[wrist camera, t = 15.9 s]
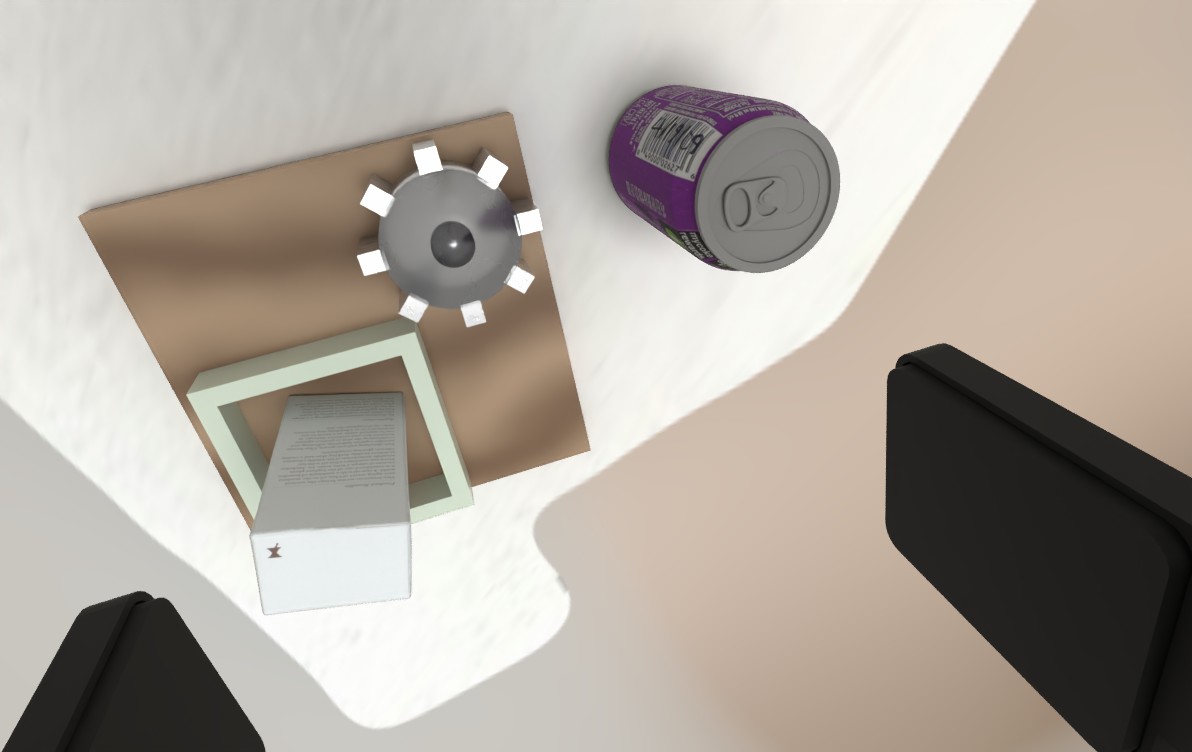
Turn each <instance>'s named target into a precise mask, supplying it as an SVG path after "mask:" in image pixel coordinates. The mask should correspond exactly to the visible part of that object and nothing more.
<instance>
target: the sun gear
mask: <svg viewBox="0 0 1192 752" xmlns="http://www.w3.org/2000/svg"><path fill="white" fill-rule="evenodd" d="M412 146H413V152H414V156H415V159H416V162H417V166H415V167H413V168H411V169H410V170H408V171H407V172H405V173H404V174H403V175H402V176H400V177H399V178H398V179H397V180H396V181H395V183H394V184H391V183H390V182H388V181H386V180H384V179H383V178H381V177H379V176H377V175H376V174H374V173H372V175H371V177H370V179H369V181H368V183H367V185H366V186H365V188H364V190H363V193H362V198H361V202H360V204H361V205H363V206H365V207H367V208H369V209H370V210H372V211H374V212H376V213H378V214H380V223H379V235H375V236H371V237H367V238H363V239H360V242H359V247H358V252H357V257H358V260H359V263H360V265H361V268H362V271H363V274H364V276H366V275H370V274H374V273H378V272H382V271H386V270H387V272H388V273H389V275H390V277H391V278H392V279H393V281H394V282H395V283H396V284H397V285H398V286H399V287H400V288H401V290H400V292H399V314H401V315H403V316H405V317H407V318H409V319H411V320H413V321H415V322H417V323H418V322H419V320H420V318H421V316H422V315H423V313H424V311H425V310H426V308H427V306H428V305H430V306H433V307H438V308H444V309H459V308H461V310H462V313H463V317H464V320H465V323H466V326H467V327H470V326H474V325H477V324H481V323H485V322H486V319H485V316H484V312H483V309H482V305H481V303H482V302H484V301H486V300H488V299H489V298H491V297H492V296H494V295H495V294H497V293H498V292H499V291H500V290H501V289H502V288H503V287H504V286H505V285H506V284H507V285H509V286H511V287H513V288H515V289H517V290H518V291H520V292H522V293H524V294H525V292H526V290H527V289H528V287H529V286H530V284H531V282H532V281H533V279H534V278H535V276H534V274H533V273H532V271H531V269H530V268H529V266H528V264H527V262H526V261H525V260H524V259H522V258H521V257H520V255H521V250H522V235H524V234H528V233H532V232H535V231H539V230H543V228H542V224H541V220H540V215H539V211H538V209H537V207H536V206H535V205H534V204H533V203H532V201H531V200H530V199H529V198H528V197H525V198H521V199H517V200H513V201H509V200H508V198H507V197H506V196H505V194H504V193H503V191H502V190H501V188H500V187H499V186H498V184H499V183H500V181H501V179H502V177H503V176H504V174H505V172H506V170H507V169H508V167H507V165H506V164H505V163H504V162H503V161H502V160H501V159H500V158H499V157H498V156H496V155H495V154H493V153H491V152H490V151H488V150H487V149H485V148H484V147H482V148H481V149H480V151H479V153H478V155H477V157H476V158H475V160H474V162H473V164H472V165H469V164H467V163H464V162H459V161H454V160H440V159H439V156H438V153H437V149H436V146H435V143H434V140H433V138H430V139H426V140H422V141H418V142H414V143H412Z"/></svg>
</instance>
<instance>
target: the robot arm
mask: <svg viewBox="0 0 1192 752" xmlns="http://www.w3.org/2000/svg"><path fill="white" fill-rule="evenodd" d="M886 434H887V435H886V515H885V516H886V517H885V520H886V521H885V522H886V529H887V532H888V534H889V537H890V539H891V541H892V543H893V544H894V546H895V547H896V548H897V549H898V550H899V551H900V552H901V554H902V555H903V556H904V557H906V559H907V560H908V561H909V562H910V563H911V564H912V565H913V566H914V567H915V568H916V569H917V570H918V571H919V572H920V573H921V574H922V575H923V576H924V577H925V578H926V579H927V580H928V581H929V582H930V583H931V584H932V585H933V586H934V587H935V588H936V589H937V590H938V591H939V592H940V593H941V594H942V595H943V596H944V597H945V598H946V599H947V600H948V601H949V602H950V603H951V604H952V605H953V606H954V607H955V608H956V609H957V610H958V611H959V612H960V613H961V614H962V615H963V616H964V618H965V619H966V620H967V621H968V622H969V623H970V624H971V625H972V626H973V627H975V629H976V630H977V631H978V632H979V633H980V634H981V635H982V636H983V637H984V638H985V639H986V640H987V641H988V642H989V643H990V644H991V645H992V646H993V647H994V648H995V649H996V650H997V651H998V652H999V653H1000V654H1001V655H1002V656H1003V657H1004V658H1005V659H1006V660H1007V661H1008V662H1009V663H1010V664H1011V665H1012V666H1013V667H1014V668H1015V669H1016V670H1017V671H1018V672H1019V673H1020V674H1021V675H1022V677H1023V678H1025V679H1026V681H1027V682H1028V683H1029V684H1030V685H1031V686H1032V687H1033V688H1034V689H1035V690H1036V691H1038V693H1039V694H1040V695H1041V696H1042V697H1043V698H1044V699H1045V700H1046V701H1047V702H1048V703H1049V704H1050V705H1051V706H1052V707H1053V708H1054V709H1055V710H1056V711H1057V712H1058V713H1059V714H1060V715H1061V716H1062V717H1063V718H1064V719H1065V720H1066V721H1067V722H1068V723H1069V724H1070V725H1071V726H1072V727H1073V728H1074V729H1075V730H1076V731H1077V732H1078V733H1079V734H1080V735H1081V736H1082V737H1083V739H1084V740H1085V741H1086V742H1087V743H1088V744H1089V745H1091V746H1092V747H1093V748H1094V749H1095V750H1096V751H1097V752H1192V478H1191V477H1189V476H1187V475H1186V474H1184V473H1182V472H1180V471H1178V470H1176V469H1175V468H1173V467H1171V466H1169V465H1167V464H1165V463H1164V462H1162V461H1160V460H1158V459H1156V458H1155V457H1153V456H1151V455H1149V454H1147V453H1145V452H1144V451H1142V450H1140V449H1138V448H1136V447H1135V446H1133V445H1131V444H1129V443H1127V442H1125V441H1124V440H1122V439H1120V438H1118V437H1116V436H1115V435H1113V434H1111V433H1109V432H1107V431H1106V430H1104V429H1102V428H1100V427H1098V426H1096V425H1095V424H1093V423H1091V422H1089V421H1087V420H1086V419H1084V418H1082V417H1080V416H1078V415H1077V414H1075V413H1072V412H1071V411H1069V410H1067V409H1066V408H1064V407H1062V406H1060V405H1058V404H1057V403H1055V402H1053V401H1051V400H1049V399H1047V398H1046V397H1044V396H1042V395H1040V394H1038V393H1037V392H1035V391H1033V390H1031V389H1029V388H1027V387H1026V386H1024V385H1022V384H1020V383H1018V382H1017V381H1015V380H1013V379H1011V378H1009V377H1007V376H1006V375H1004V374H1002V373H1000V372H998V371H996V370H995V369H993V368H991V367H989V366H987V365H986V364H984V363H982V362H980V361H978V360H976V359H975V358H973V357H971V356H969V355H967V354H966V353H964V352H962V351H960V350H958V349H957V348H955V347H953V346H951V345H948V344H944V343H943V344H937V345H934V346H930V347H927V348H924V349H921V350H917V351H914V352H911V353H908V354H904V355H903V356H901V357H900V358H899V359H898V361H897V363H896V368H895V369H893V370H892V371H890V373H889V375H888V379H887V431H886ZM2 752H265V747H264V744H263V741H262V740H261V737H260V736H259V734H258V733H257V731H256V730H255V728H254V727H253V725H252V724H251V722H250V721H249V719H248V717H247V716H246V714H245V713H244V712H243V710H242V709H241V707H240V705H239V704H238V702H237V701H236V699H235V698H234V696H233V695H232V694H231V692H230V690H229V689H228V687H227V686H226V684H225V683H224V681H223V680H222V678H221V677H220V676H219V674H218V672H217V671H216V669H215V668H214V666H213V665H212V663H211V662H210V660H209V659H208V657H207V656H206V654H205V653H204V651H203V650H202V648H201V647H200V645H199V644H198V642H197V641H196V639H195V638H194V636H193V635H192V633H191V632H190V630H189V629H188V627H187V626H186V624H185V623H184V621H183V619H182V618H181V616H180V615H179V613H178V612H177V610H176V609H175V608H174V606H173V605H172V604H171V602H170V601H169V600H167V599H165V598H157V599H154V598H153V597H152V596H151V595H150V594H148V593H146V592H143V591H137V592H134V593H131V594H127V595H124V596H121V597H118V598H114V599H112V600H108V601H105V602H101V603H98V604H95V605H92V606H89V607H87V608H85V609H83V610H82V611H81V613H79V615H78V616H77V617H76V619H75V621H74V623H73V624H72V626H71V628H70V630H69V632H68V633H67V635H66V637H65V639H64V641H63V642H62V644H61V646H60V648H59V650H58V652H57V653H56V655H55V657H54V659H53V661H52V662H51V664H50V666H49V668H48V669H47V671H46V673H45V675H44V677H43V679H42V681H41V682H40V684H39V686H38V688H37V689H36V691H35V693H34V695H33V697H32V698H31V700H30V702H29V704H28V706H27V707H26V709H25V711H24V713H23V715H22V716H21V718H20V720H19V722H18V724H17V726H16V727H15V729H14V731H13V733H12V735H11V736H10V738H9V740H8V742H7V743H6V745H5V747H4V749H3V751H2Z"/></svg>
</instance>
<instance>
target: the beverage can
mask: <svg viewBox="0 0 1192 752" xmlns="http://www.w3.org/2000/svg"><path fill="white" fill-rule="evenodd" d="M609 168H610V174H611V179H612V182H613V185H614V187H615V190H616V192H617V194H618V195H619V197H620V198H621V200H622V201H623V202H624V204H625V205H626V206H627V207H628V208H629V209H630V210H631V211H633V212H634V213H635V214H637V215H638V216H640V217H641V218H642V219H644V220H645V221H647V222H648V223H649V224H651V225H652V226H653V227H655V228H656V229H658V230H659V231H660V232H662V233H663V234H665V235H666V236H667V237H669V238H670V239H672V240H673V241H674V242H676V243H677V244H679V245H680V246H681V247H683V248H684V249H685V250H687V251H688V252H690V253H691V254H692V255H694V256H695V257H697V258H698V259H700V260H701V261H703V262H705V263H706V264H708V265H711V266H713V267H716V268H719V269H723V270H729V271H744V272H750V273H764V272H770V271H775V270H778V269H781V268H784V267H786V266H788V265H790V264H792V263H794V262H795V261H797V260H798V259H800V258H801V257H802V256H804V255H805V254H806V253H807V252H808V251H809V250H811V249H812V248H813V246H814V245H815V244H816V243H817V242H818V241H819V239H820V238H821V237H822V235H823V234H824V232H825V231H826V229H827V228H828V226H829V224H830V222H831V220H832V217H833V215H834V212H835V209H836V206H837V202H838V198H839V191H840V172H839V166H838V161H837V158H836V155H835V152H834V150H833V148H832V146H831V144H830V143H829V141H828V140H827V138H826V137H825V136H824V135H823V134H822V133H821V132H820V131H819V130H818V129H817V128H816V127H814V126H813V125H811V124H810V123H809V121H808V120H807V119H806V118H805V117H804V116H803V115H801V114H800V113H799V112H798V111H796V110H795V109H793V108H791V107H789V106H788V105H785V104H783V103H780V102H777V101H772V100H767V99H762V98H756V97H750V96H744V95H738V94H732V93H725V92H719V91H713V90H707V89H701V88H695V87H688V86H681V85H674V86H666V87H662V88H658V89H655V90H653V91H651V92H649V93H647V94H645V95H644V96H642V97H641V98H639V99H638V100H637V101H636V102H635V103H633V104H632V105H631V106H630V108H629V109H628V110H627V111H626V112H625V114H624V115H623V116H622V118H621V120H620V121H619V123H618V125H617V127H616V129H615V132H614V134H613V137H612V141H611V146H610V152H609Z"/></svg>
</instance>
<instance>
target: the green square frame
mask: <svg viewBox="0 0 1192 752" xmlns="http://www.w3.org/2000/svg"><path fill="white" fill-rule="evenodd" d="M401 355H402V358H403V361H404V364H405V366H406V369H407V372H408V375H409V378H410V380H411V383H412V386H413V389H414V391H415V394H416V397H417V400H418V402H419V405H420V408H421V411H422V414H423V416H424V419H425V422H426V425H427V427H428V430H429V433H430V436H431V438H432V441H433V444H434V447H435V450H436V452H437V455H438V458H439V461H440V463H441V466H442V469H443V472H444V474H441V475H438V476H434V477H431V478H428V479H424V480H421V481H418V482H415V483H411V484H408V488H409V504H410V518H411V524H413V523H417V522H420V521H423V520H426V519H429V518H433V517H436V516H439V515H442V514H445V513H449V512H452V511H455V510H458V509H461V508H465V507H468V506H471V505H474V499H473V493H472V487H471V481H470V478H469V475H468V472H467V469H466V466H465V463H464V460H463V457H462V454H461V451H460V448H459V445H458V443H457V440H456V437H455V434H454V431H453V428H452V425H451V422H450V419H449V416H448V413H447V410H446V407H445V404H444V401H443V398H442V396H441V393H440V390H439V387H438V384H437V381H436V378H435V375H434V372H433V369H432V366H431V363H430V360H429V357H428V354H427V352H426V349H425V346H424V343H423V340H422V337H421V334H420V331H419V328H418V325H417V322H415V321H413V320H411V319H409V318H407V317H403V318H400V319H396V320H392V321H389V322H385V323H381V324H378V325H374V326H370V327H367V328H363V329H359V330H355V331H352V332H348V333H344V334H341V335H337V336H333V337H330V338H326V339H322V340H318V341H315V342H311V343H307V344H304V345H300V346H296V347H293V348H289V349H285V350H282V351H278V352H274V353H270V354H267V355H263V356H259V357H256V358H252V359H248V360H245V361H241V362H237V363H233V364H230V365H226V366H222V367H219V368H215V369H211V370H208V371H204V372H200V373H199V374H198V376H197V377H196V379H195V381H194V382H193V384H192V386H191V387H190V389H189V391H188V392H187V394H186V395H187V397H188V399H189V401H190V403H191V405H192V407H193V408H194V410H195V412H196V414H197V416H198V418H199V419H200V421H201V423H202V425H203V427H204V429H205V430H206V432H207V434H208V436H209V438H210V440H211V442H212V443H213V445H214V447H215V449H216V451H217V453H218V454H219V456H220V458H221V460H222V462H223V464H224V465H225V467H226V469H227V471H228V473H229V475H230V477H231V478H232V480H233V482H234V484H235V486H236V488H237V489H238V491H239V493H240V495H241V497H242V499H243V501H244V502H245V504H246V506H247V508H248V510H249V512H250V513H251V515H252V517H253V519H255V516H256V513H257V510H258V506H259V502H260V498H261V494H262V490H263V487H264V483H265V479H266V476H267V472H268V468H269V464H268V462H267V460H266V458H265V456H264V454H263V452H262V451H261V449H260V447H259V445H258V443H257V441H256V439H255V437H254V435H253V433H252V431H251V429H250V427H249V425H248V423H247V421H246V419H245V417H244V415H243V413H242V411H241V409H240V407H239V405H238V403H237V401H239V400H242V399H246V398H249V397H253V396H257V395H260V394H264V393H267V392H271V391H275V390H278V389H282V388H285V387H289V386H293V385H296V384H300V383H303V382H307V381H311V380H314V379H318V378H321V377H325V376H329V375H332V374H336V373H339V372H343V371H347V370H350V369H354V368H357V367H361V366H365V365H368V364H372V363H375V362H379V361H383V360H386V359H390V358H393V357H397V356H401Z"/></svg>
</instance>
